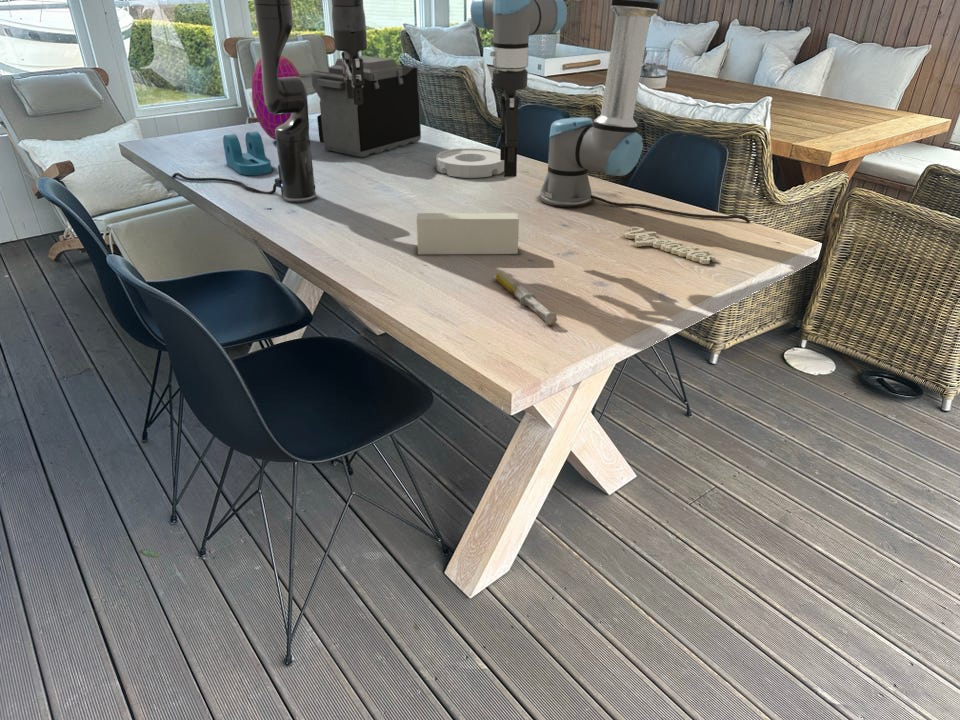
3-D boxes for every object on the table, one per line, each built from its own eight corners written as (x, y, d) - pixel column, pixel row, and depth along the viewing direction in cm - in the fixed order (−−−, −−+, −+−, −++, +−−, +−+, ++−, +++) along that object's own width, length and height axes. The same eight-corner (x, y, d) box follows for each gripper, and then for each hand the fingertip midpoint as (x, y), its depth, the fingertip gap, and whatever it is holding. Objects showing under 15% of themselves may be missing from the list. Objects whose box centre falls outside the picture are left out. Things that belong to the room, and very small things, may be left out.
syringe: (491, 278, 153) (492, 266, 152) (507, 275, 154) (507, 264, 153) (540, 327, 133) (541, 315, 132) (557, 324, 134) (558, 312, 133)
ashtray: (439, 158, 242) (439, 147, 240) (504, 160, 242) (505, 148, 240) (433, 177, 222) (433, 164, 220) (504, 178, 222) (505, 166, 220)
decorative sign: (611, 234, 176) (635, 225, 181) (610, 237, 176) (634, 229, 182) (700, 264, 159) (723, 254, 164) (699, 268, 159) (723, 257, 165)
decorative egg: (293, 132, 276) (283, 50, 261) (319, 140, 264) (310, 56, 249) (249, 139, 265) (236, 54, 250) (273, 148, 253) (261, 60, 238)
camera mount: (227, 164, 233) (221, 132, 227) (257, 160, 238) (252, 129, 233) (244, 176, 220) (239, 143, 215) (276, 172, 225) (271, 139, 220)
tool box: (383, 133, 276) (378, 52, 261) (425, 141, 265) (422, 56, 250) (314, 150, 251) (304, 61, 235) (358, 160, 240) (350, 67, 224)
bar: (516, 247, 170) (517, 212, 166) (517, 254, 166) (519, 218, 162) (418, 247, 169) (417, 213, 165) (418, 254, 165) (416, 219, 161)
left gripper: (328, 25, 163) (334, 97, 171) (338, 30, 151) (345, 107, 160) (359, 24, 165) (364, 95, 173) (372, 30, 154) (376, 106, 162)
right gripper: (490, 60, 157) (489, 153, 168) (495, 78, 136) (494, 183, 147) (522, 60, 158) (519, 153, 169) (533, 78, 136) (529, 183, 147)
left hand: (355, 101), depth 167 cm, fingers open, 8 cm apart
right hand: (508, 167), depth 158 cm, fingers open, 13 cm apart
